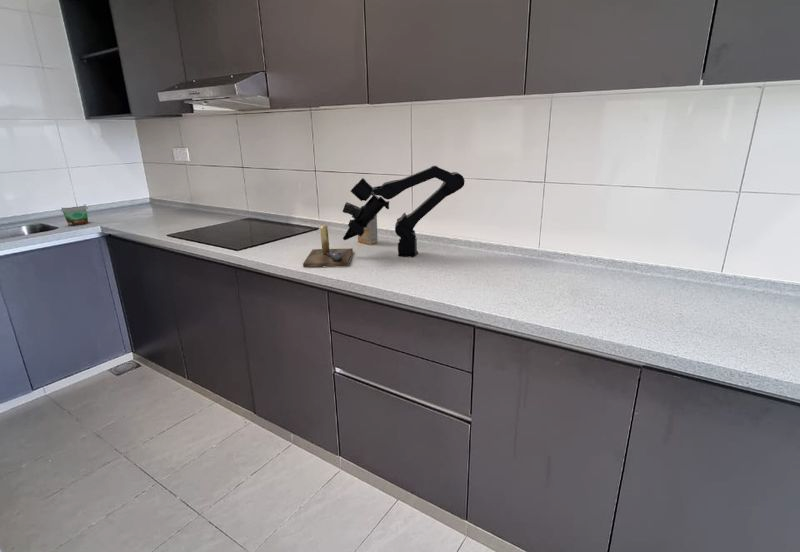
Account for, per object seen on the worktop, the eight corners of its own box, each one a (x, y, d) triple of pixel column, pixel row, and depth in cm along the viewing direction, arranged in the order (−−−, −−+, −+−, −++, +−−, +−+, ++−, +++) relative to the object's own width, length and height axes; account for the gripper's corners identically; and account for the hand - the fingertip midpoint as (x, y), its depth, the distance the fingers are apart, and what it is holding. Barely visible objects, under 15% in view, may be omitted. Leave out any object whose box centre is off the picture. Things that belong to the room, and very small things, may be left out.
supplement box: (357, 242, 189) (355, 212, 185) (365, 240, 193) (364, 210, 188) (369, 245, 184) (368, 214, 180) (378, 243, 187) (377, 212, 183)
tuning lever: (326, 249, 172) (324, 223, 168) (343, 260, 158) (341, 231, 154) (317, 251, 170) (315, 224, 166) (334, 261, 156) (332, 233, 153)
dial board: (352, 252, 175) (352, 247, 174) (347, 266, 157) (347, 262, 156) (312, 252, 175) (312, 248, 174) (303, 267, 157) (302, 263, 156)
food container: (70, 227, 233) (65, 208, 230) (65, 226, 236) (60, 207, 233) (95, 222, 243) (91, 204, 240) (90, 221, 246) (85, 204, 243)
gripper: (356, 191, 171) (331, 220, 174) (352, 199, 153) (323, 231, 157) (377, 210, 173) (352, 238, 177) (375, 220, 156) (347, 251, 159)
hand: (343, 239), depth 167 cm, fingers closed
